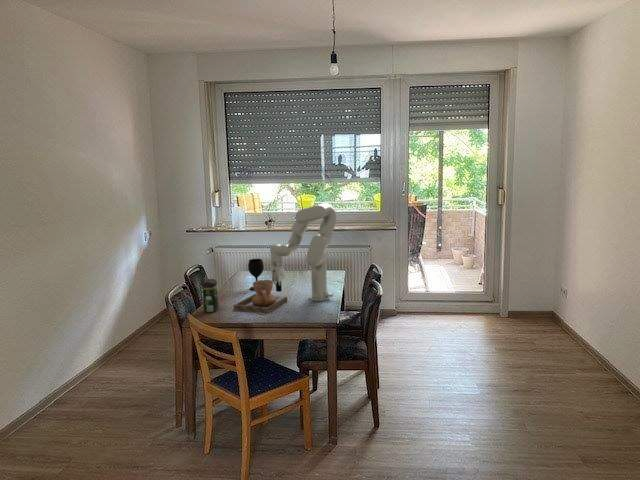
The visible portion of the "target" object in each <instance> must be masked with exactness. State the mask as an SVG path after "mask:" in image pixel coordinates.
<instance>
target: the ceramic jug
mask: <svg viewBox="0 0 640 480" xmlns="http://www.w3.org/2000/svg"><path fill="white" fill-rule="evenodd" d="M273 286H274V282H273V281H272V279H271V280H270V279H260V280H258V279H257V281H256V280H255V281H254V282H252V287H254V289H255V291H254V292H255V294H256V296H254V297H253V299H252V302H251V303H252V304H253V306H257V307H269V306H271V305H272V304H274V303H275V302H277V298H276V296H275V295H274V294H272V293H271V292H272V290H273Z"/></svg>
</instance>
